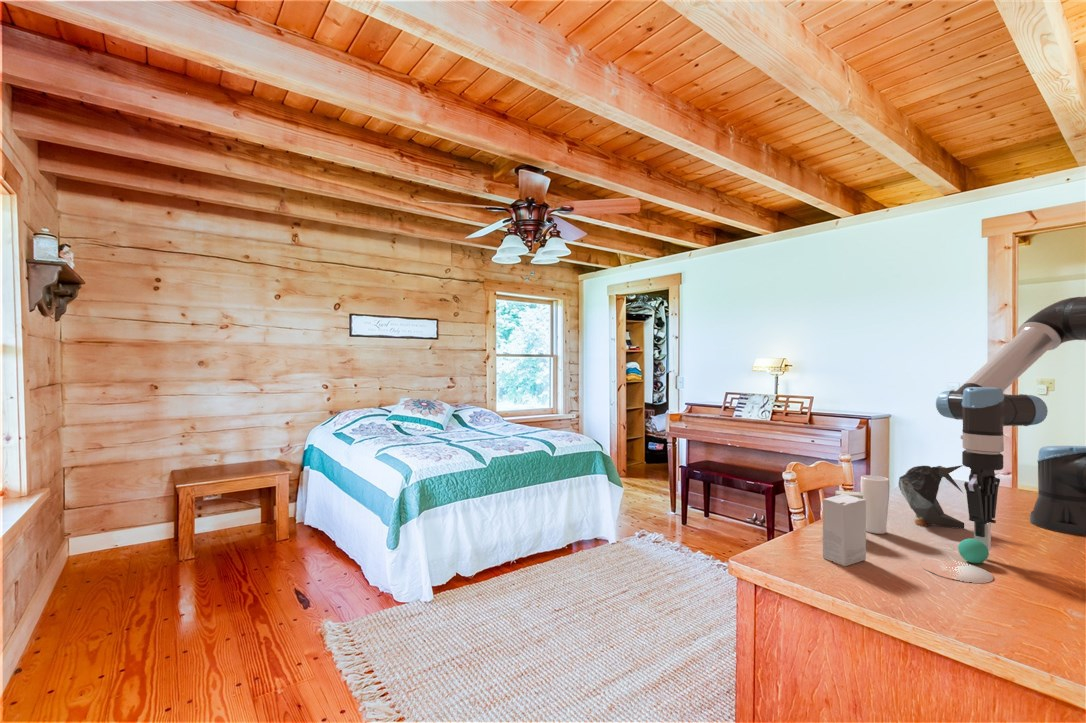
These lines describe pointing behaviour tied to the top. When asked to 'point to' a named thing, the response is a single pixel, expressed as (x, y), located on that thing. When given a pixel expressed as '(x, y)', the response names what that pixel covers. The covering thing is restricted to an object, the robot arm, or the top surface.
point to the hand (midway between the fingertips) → (982, 549)
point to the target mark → (972, 574)
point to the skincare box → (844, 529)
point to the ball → (973, 550)
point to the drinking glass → (875, 502)
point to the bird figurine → (927, 495)
